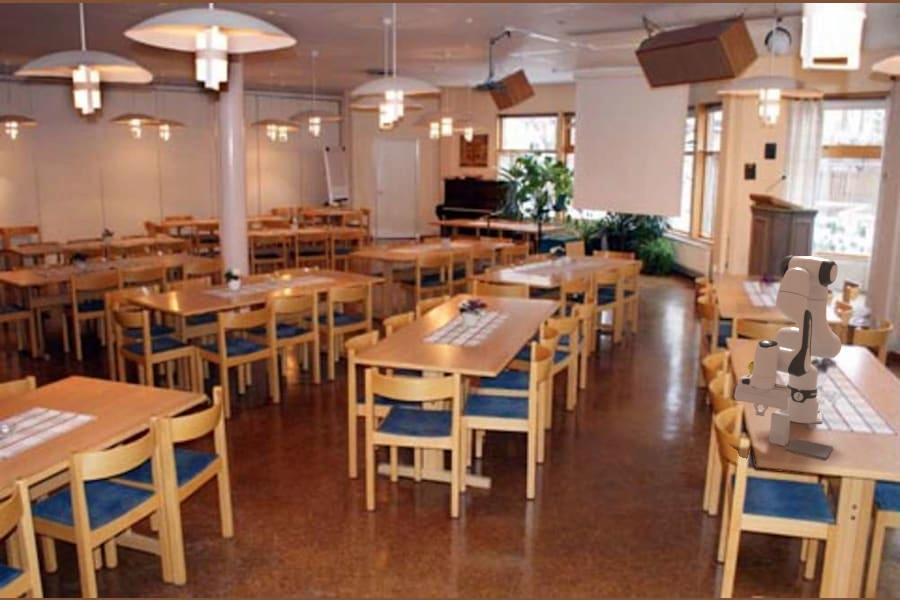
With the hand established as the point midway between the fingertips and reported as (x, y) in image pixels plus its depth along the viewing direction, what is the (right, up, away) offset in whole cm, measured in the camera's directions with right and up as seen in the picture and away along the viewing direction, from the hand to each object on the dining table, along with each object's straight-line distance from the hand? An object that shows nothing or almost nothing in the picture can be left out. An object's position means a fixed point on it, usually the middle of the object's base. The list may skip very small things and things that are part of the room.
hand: (759, 415), depth 308 cm
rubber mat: (+16, -12, -9) cm, 22 cm away
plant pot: (+30, +4, +79) cm, 84 cm away
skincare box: (+6, -11, -3) cm, 13 cm away
